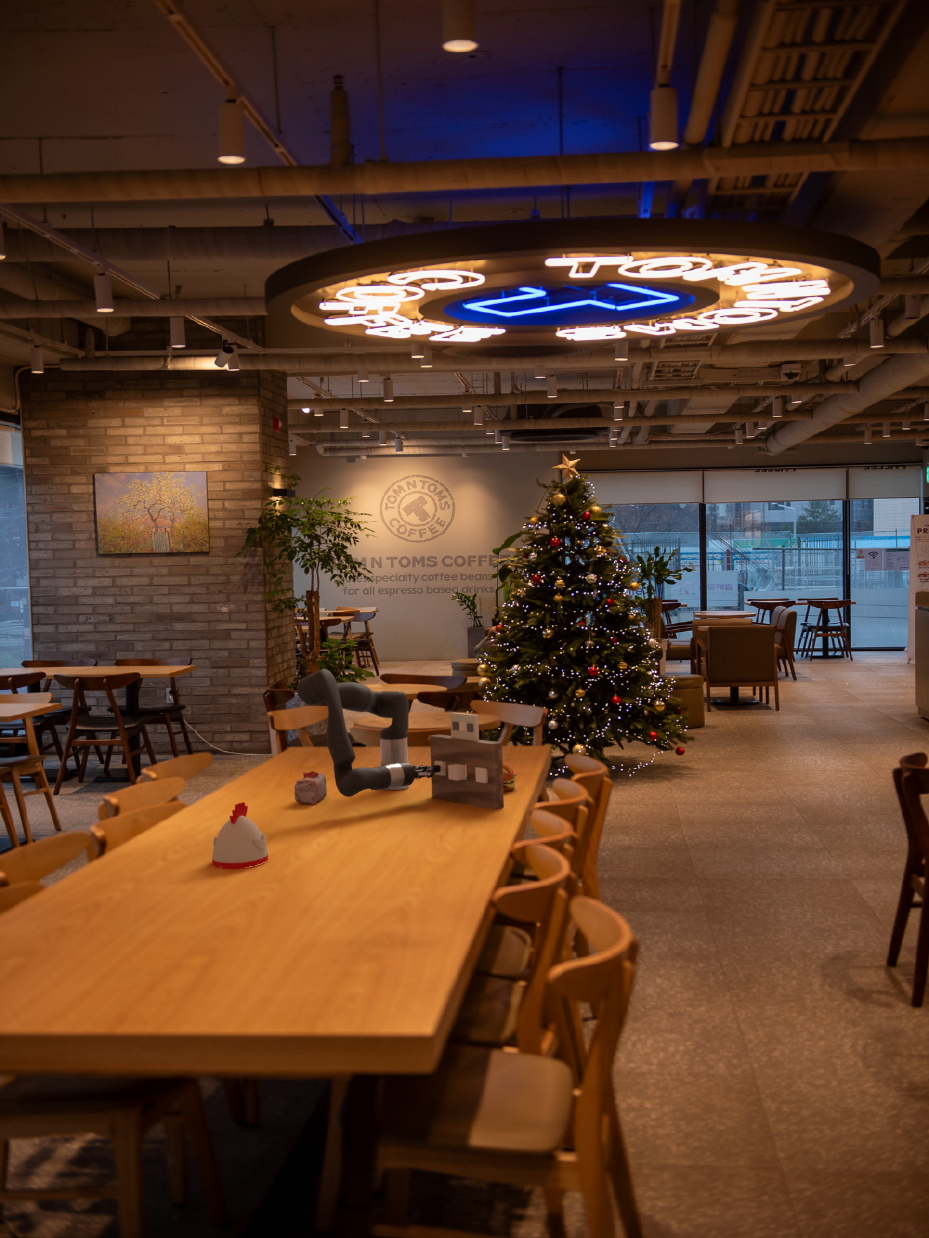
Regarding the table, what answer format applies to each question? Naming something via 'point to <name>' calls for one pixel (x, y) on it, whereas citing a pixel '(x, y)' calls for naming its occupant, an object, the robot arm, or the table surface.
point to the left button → (442, 766)
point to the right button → (481, 774)
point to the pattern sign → (464, 726)
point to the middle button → (457, 772)
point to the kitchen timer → (239, 842)
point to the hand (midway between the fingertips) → (439, 768)
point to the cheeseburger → (508, 778)
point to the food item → (310, 788)
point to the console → (468, 771)
